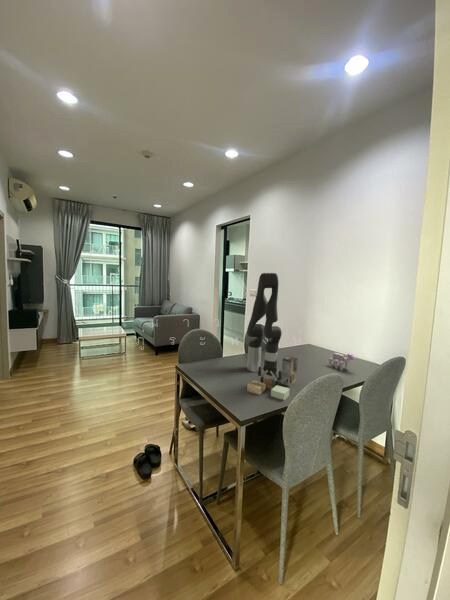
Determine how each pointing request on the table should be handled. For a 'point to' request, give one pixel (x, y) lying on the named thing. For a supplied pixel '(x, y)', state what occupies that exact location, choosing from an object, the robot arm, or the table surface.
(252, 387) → the oak base block
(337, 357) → the toy sheep
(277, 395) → the sage base block
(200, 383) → the table surface
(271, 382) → the walnut cube
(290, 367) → the coffee box
